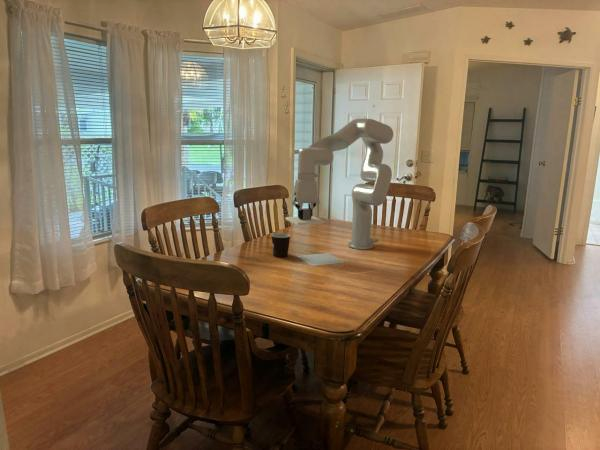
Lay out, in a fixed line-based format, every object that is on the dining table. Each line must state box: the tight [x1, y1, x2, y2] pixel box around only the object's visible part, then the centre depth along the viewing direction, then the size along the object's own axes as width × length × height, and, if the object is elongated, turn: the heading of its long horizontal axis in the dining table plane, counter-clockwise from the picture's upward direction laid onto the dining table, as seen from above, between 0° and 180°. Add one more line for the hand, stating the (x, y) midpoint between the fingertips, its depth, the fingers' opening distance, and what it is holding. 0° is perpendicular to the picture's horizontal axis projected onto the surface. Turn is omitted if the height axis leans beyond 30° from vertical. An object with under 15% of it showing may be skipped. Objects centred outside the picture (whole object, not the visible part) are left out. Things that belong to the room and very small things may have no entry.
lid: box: [285, 207, 326, 226], centre depth 197 cm, size 13×13×6 cm
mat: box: [297, 252, 345, 267], centre depth 199 cm, size 16×16×1 cm
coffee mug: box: [270, 232, 291, 259], centre depth 203 cm, size 12×9×10 cm
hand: (304, 218), depth 197 cm, fingers closed on lid, 3 cm apart
